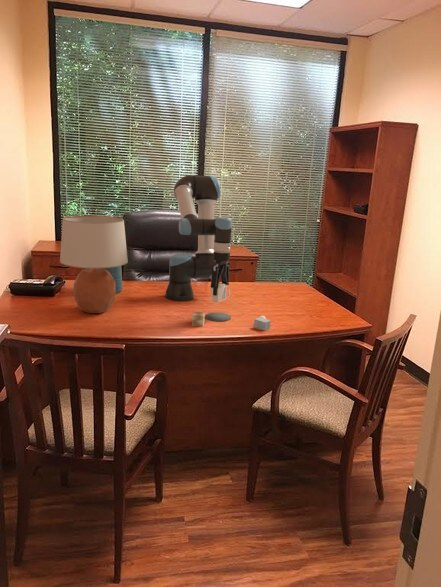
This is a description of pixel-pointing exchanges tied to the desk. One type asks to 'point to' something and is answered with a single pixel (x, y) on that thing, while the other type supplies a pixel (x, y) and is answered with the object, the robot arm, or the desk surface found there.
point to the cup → (220, 291)
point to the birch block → (198, 318)
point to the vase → (116, 277)
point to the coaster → (218, 316)
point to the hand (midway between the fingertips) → (219, 299)
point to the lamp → (93, 258)
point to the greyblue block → (262, 324)
